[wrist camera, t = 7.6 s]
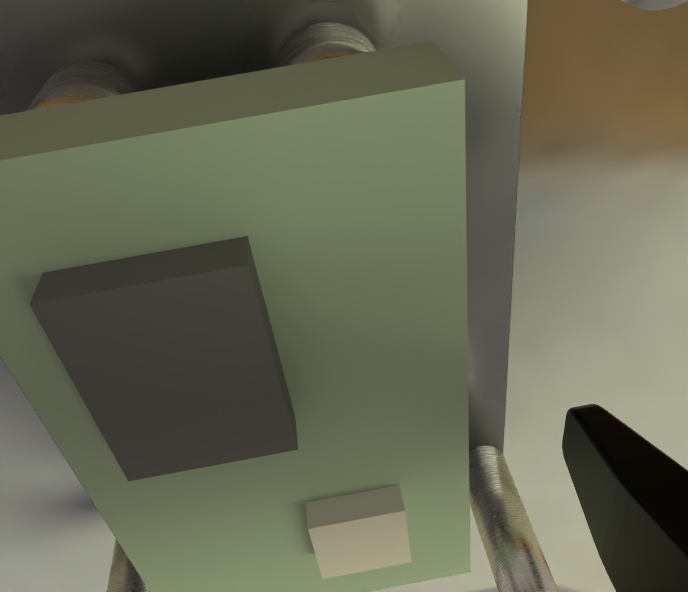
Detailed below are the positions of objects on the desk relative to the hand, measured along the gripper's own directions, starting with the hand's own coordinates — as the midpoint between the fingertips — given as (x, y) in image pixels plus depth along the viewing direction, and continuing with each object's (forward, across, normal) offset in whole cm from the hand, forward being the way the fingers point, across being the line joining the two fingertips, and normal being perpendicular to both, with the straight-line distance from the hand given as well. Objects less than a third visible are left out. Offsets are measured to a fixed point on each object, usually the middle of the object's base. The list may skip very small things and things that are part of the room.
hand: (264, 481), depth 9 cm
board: (+2, 0, 0) cm, 2 cm away
